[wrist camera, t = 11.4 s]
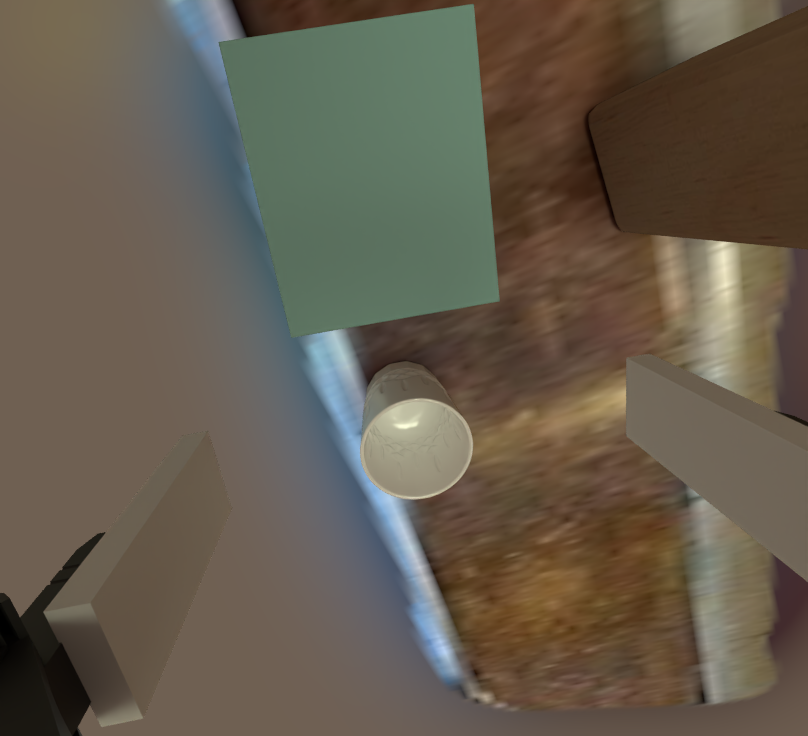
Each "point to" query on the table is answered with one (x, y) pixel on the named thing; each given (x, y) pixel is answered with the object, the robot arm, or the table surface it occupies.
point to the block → (715, 143)
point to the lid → (369, 166)
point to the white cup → (412, 433)
